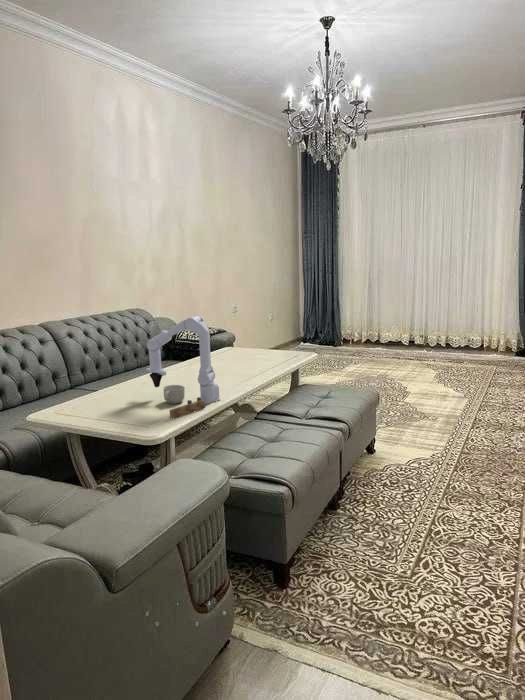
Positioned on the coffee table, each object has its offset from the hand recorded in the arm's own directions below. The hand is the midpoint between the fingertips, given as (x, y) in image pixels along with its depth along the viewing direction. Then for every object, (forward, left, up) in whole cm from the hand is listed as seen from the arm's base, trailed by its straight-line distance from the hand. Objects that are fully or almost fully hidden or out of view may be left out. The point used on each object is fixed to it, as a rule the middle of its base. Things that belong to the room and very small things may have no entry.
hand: (157, 386), depth 282 cm
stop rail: (+6, +32, -6) cm, 33 cm away
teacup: (0, +13, -7) cm, 14 cm away
